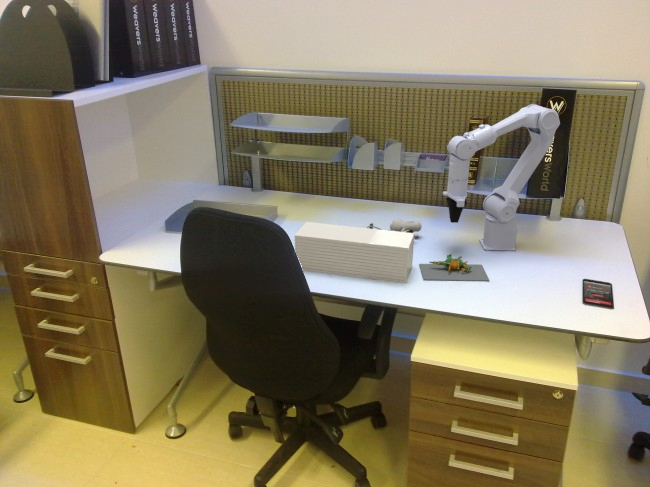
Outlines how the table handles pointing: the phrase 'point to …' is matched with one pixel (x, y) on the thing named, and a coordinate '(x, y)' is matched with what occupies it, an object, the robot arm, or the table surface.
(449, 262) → the figurine
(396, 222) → the clip-on lamp
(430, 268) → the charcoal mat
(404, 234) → the stack of papers
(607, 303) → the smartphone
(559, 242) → the table surface
